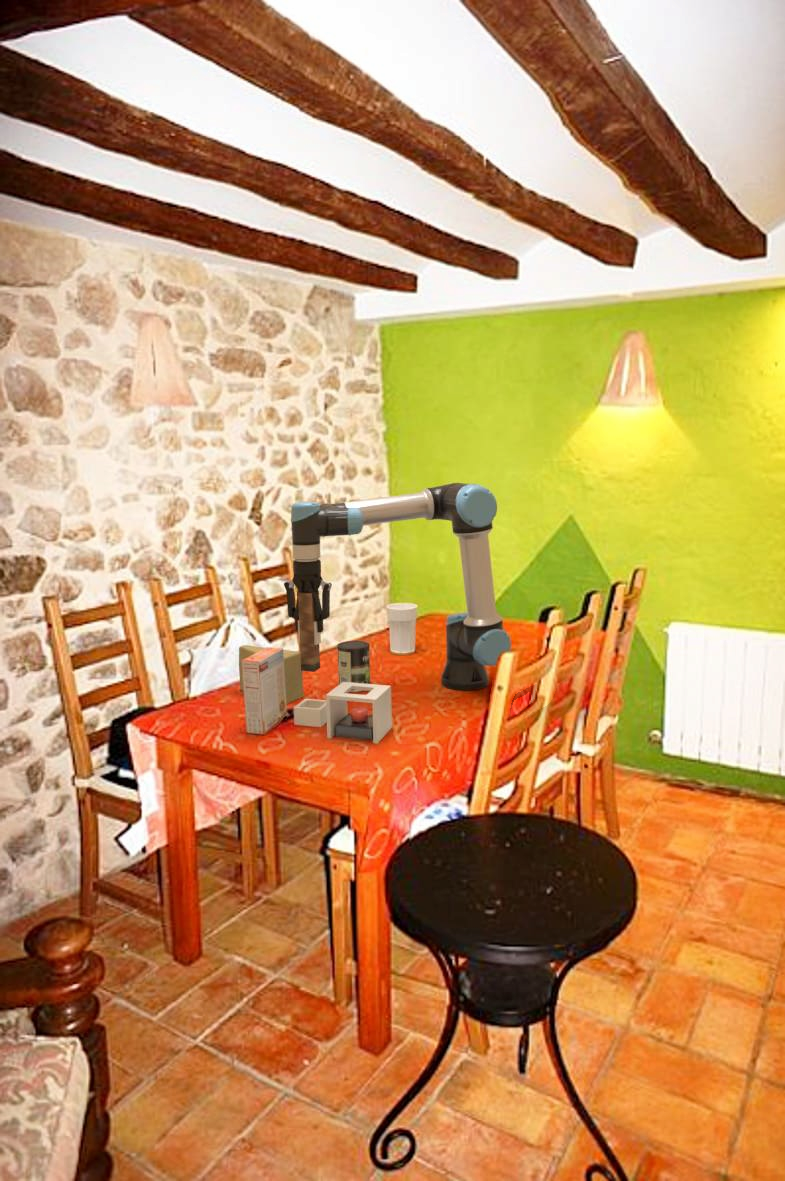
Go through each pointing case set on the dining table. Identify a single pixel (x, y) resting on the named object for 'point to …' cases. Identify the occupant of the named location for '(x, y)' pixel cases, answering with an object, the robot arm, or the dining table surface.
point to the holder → (310, 713)
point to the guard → (376, 696)
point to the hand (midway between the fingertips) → (309, 642)
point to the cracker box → (264, 690)
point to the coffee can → (354, 662)
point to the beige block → (290, 667)
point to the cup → (402, 627)
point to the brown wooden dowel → (307, 633)
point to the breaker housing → (355, 728)
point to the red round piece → (359, 714)
